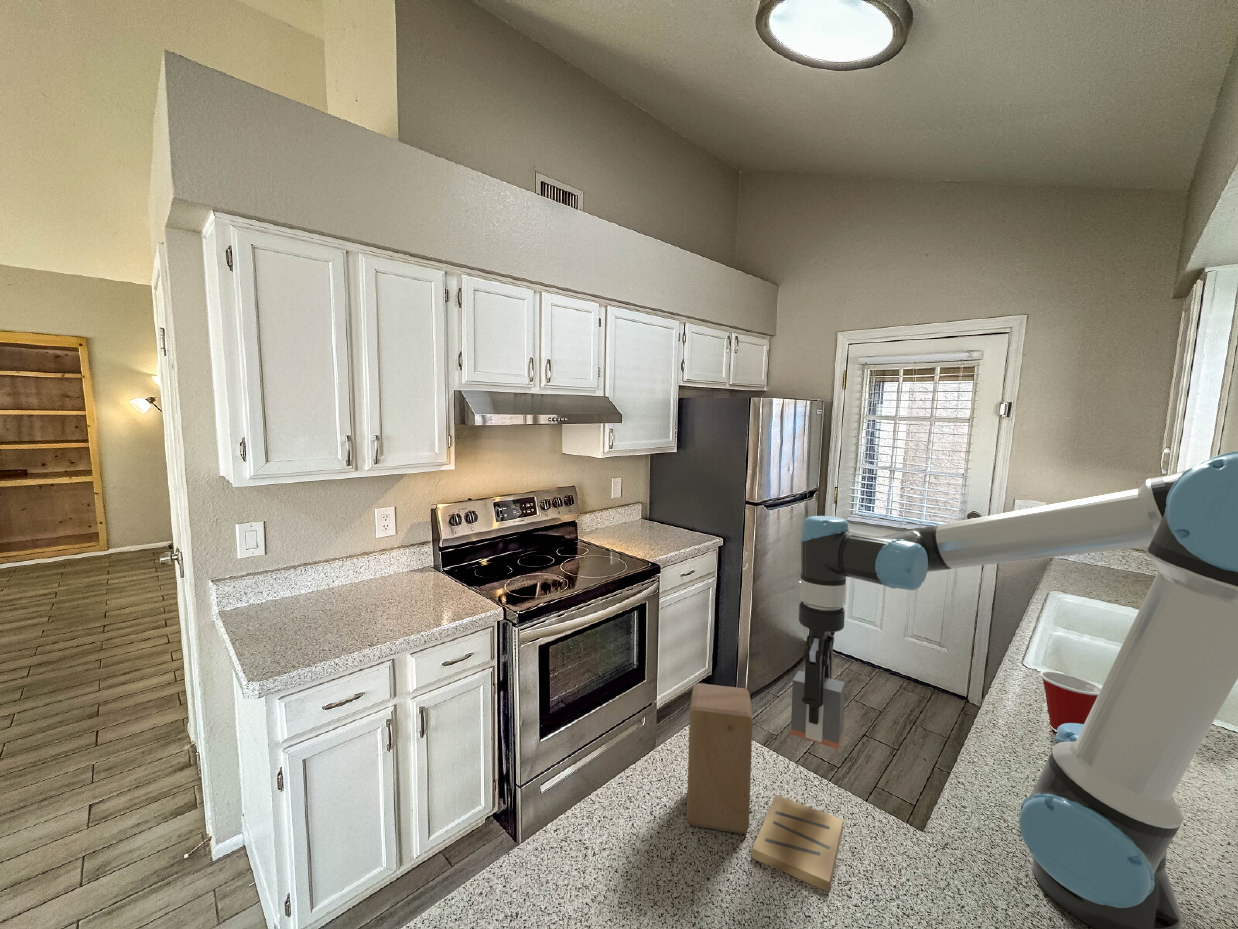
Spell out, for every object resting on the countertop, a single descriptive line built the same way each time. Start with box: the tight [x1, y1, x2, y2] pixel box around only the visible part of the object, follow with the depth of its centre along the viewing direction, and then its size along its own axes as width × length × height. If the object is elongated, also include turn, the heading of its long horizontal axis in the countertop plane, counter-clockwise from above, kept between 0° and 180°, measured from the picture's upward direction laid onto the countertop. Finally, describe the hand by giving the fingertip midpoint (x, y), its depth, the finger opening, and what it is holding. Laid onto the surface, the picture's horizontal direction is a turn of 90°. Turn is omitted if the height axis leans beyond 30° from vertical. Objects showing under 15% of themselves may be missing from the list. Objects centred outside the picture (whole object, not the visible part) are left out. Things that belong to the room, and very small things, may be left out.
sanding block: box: [790, 670, 846, 750], centre depth 91 cm, size 8×4×10 cm, turn 57°
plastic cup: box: [1039, 671, 1102, 730], centre depth 113 cm, size 11×11×12 cm
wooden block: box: [686, 682, 753, 835], centre depth 87 cm, size 10×10×20 cm
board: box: [751, 794, 844, 893], centre depth 81 cm, size 11×14×2 cm
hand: (817, 731), depth 91 cm, fingers closed on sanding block, 4 cm apart
